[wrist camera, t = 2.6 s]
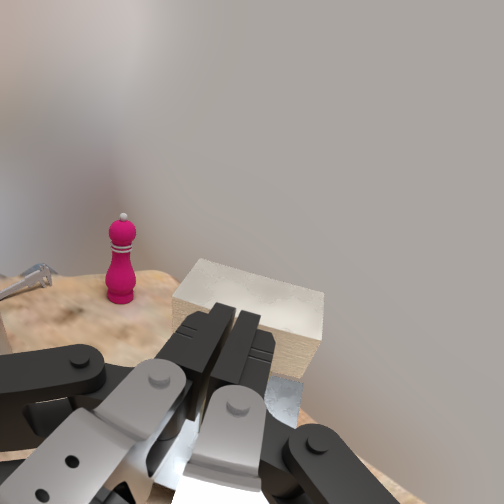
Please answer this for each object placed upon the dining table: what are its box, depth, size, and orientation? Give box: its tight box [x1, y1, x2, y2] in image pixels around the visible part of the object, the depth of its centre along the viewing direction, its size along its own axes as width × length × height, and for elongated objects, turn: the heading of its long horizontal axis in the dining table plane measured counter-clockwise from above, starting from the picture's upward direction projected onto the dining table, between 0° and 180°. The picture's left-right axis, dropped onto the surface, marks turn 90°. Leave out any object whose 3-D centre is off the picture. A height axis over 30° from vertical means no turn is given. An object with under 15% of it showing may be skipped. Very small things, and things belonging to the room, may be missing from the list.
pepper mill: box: [105, 213, 136, 304], centre depth 56 cm, size 7×7×20 cm
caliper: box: [0, 264, 52, 299], centre depth 45 cm, size 20×1×6 cm, turn 149°
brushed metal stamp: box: [154, 258, 324, 504], centre depth 21 cm, size 18×16×21 cm
